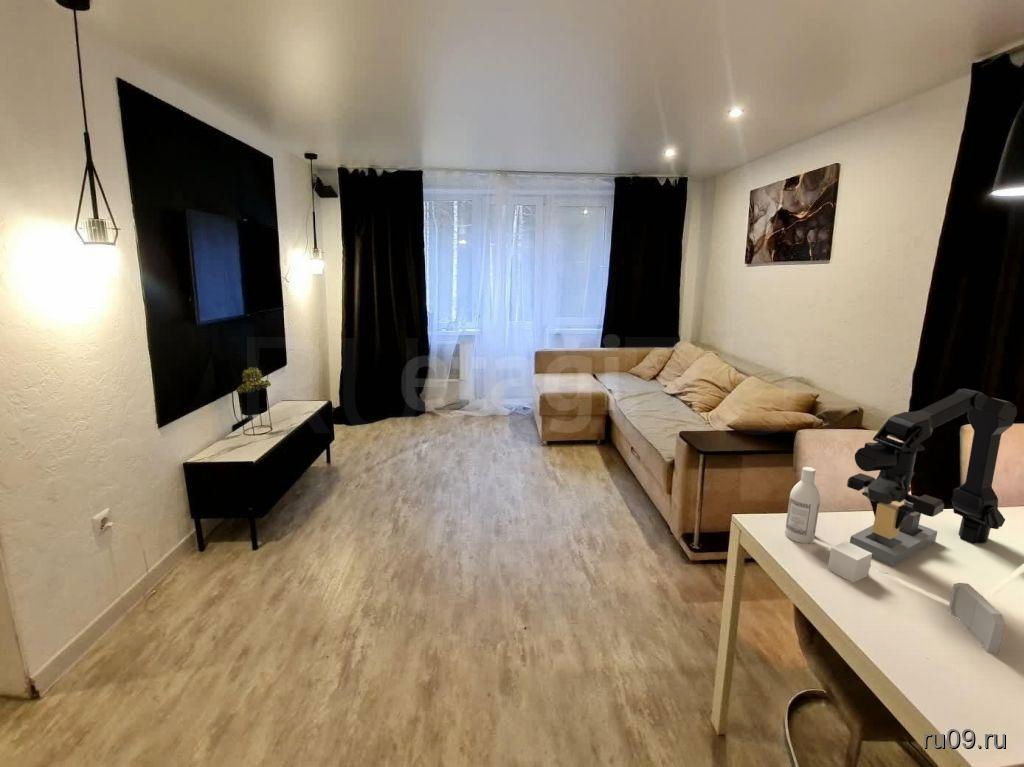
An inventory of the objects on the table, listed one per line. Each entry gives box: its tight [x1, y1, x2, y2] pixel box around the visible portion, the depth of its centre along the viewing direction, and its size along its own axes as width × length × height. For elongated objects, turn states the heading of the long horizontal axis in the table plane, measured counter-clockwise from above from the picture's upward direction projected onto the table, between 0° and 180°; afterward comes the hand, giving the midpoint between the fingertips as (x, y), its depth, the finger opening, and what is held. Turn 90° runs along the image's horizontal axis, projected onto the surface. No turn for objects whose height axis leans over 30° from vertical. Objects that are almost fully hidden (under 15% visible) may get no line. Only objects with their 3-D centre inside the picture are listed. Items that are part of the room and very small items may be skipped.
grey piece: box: [849, 523, 938, 567], centre depth 129 cm, size 22×10×4 cm, turn 119°
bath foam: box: [784, 466, 821, 544], centre depth 132 cm, size 7×7×20 cm
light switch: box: [947, 582, 1006, 655], centre depth 99 cm, size 2×12×8 cm, turn 168°
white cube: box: [827, 540, 873, 583], centre depth 119 cm, size 6×6×6 cm
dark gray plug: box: [899, 512, 922, 536], centre depth 131 cm, size 4×4×8 cm
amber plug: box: [872, 501, 902, 539], centre depth 124 cm, size 4×4×8 cm
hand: (887, 524), depth 125 cm, fingers closed on amber plug, 4 cm apart
